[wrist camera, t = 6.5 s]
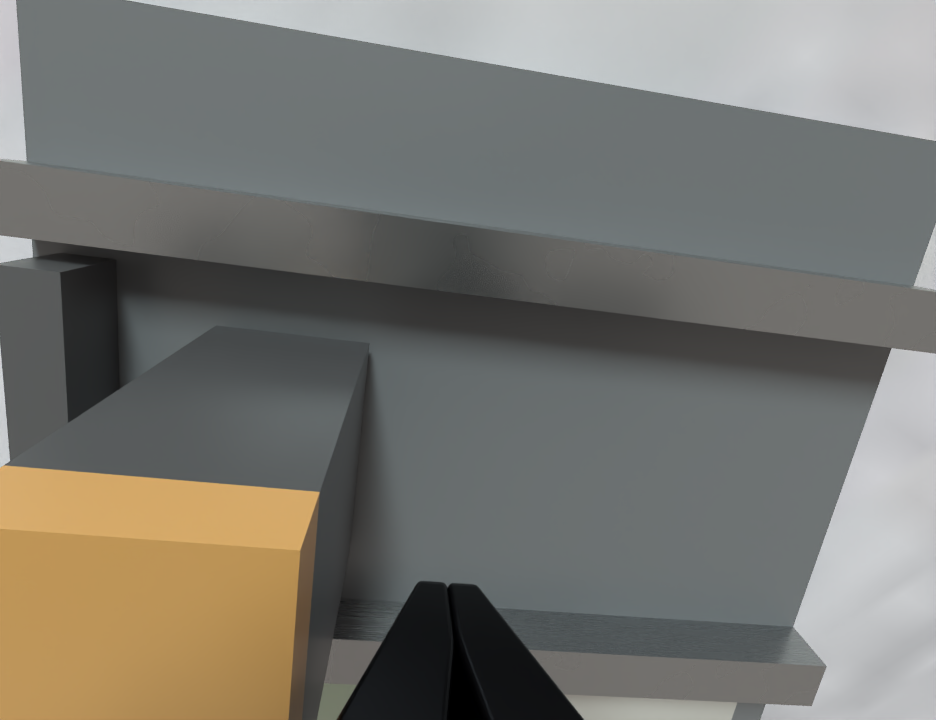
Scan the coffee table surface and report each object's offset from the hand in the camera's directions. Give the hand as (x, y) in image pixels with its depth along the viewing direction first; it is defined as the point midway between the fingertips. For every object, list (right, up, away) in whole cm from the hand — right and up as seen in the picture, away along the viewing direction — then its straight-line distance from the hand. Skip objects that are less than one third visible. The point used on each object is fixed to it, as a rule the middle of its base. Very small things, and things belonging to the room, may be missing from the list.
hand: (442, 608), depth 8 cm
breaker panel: (0, +2, +6) cm, 6 cm away
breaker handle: (-3, +2, +4) cm, 6 cm away
